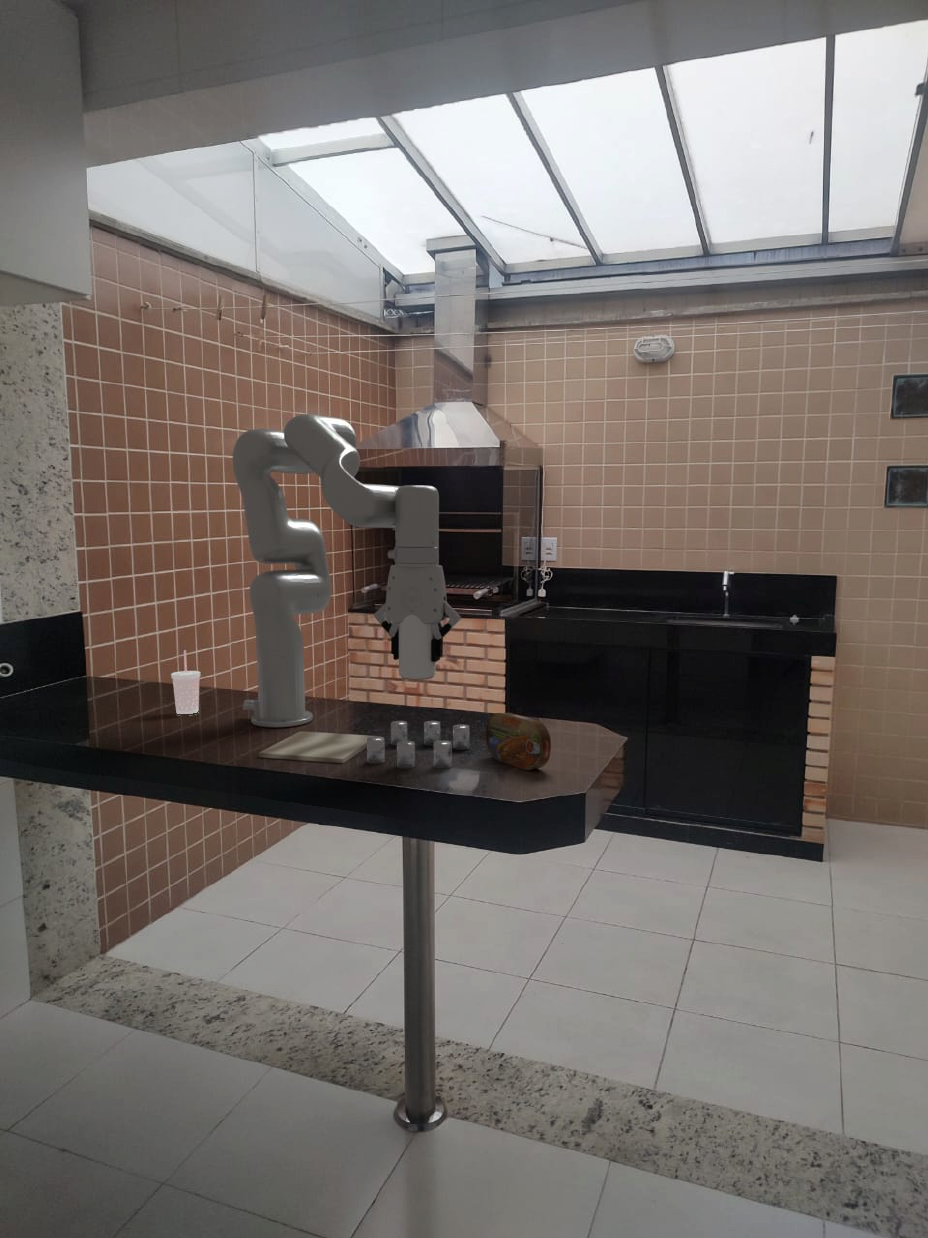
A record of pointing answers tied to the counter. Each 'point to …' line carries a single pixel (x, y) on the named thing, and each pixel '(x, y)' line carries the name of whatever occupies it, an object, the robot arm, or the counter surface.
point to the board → (317, 747)
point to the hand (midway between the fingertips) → (416, 658)
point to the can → (415, 649)
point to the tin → (518, 741)
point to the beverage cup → (186, 690)
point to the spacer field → (408, 747)
